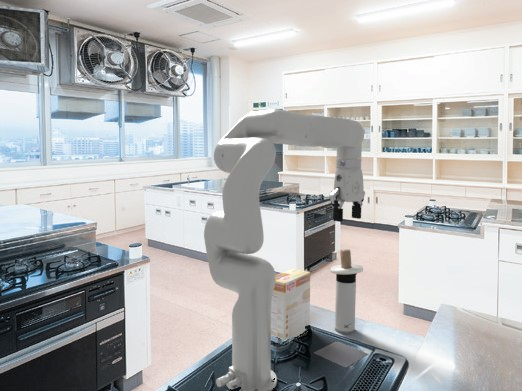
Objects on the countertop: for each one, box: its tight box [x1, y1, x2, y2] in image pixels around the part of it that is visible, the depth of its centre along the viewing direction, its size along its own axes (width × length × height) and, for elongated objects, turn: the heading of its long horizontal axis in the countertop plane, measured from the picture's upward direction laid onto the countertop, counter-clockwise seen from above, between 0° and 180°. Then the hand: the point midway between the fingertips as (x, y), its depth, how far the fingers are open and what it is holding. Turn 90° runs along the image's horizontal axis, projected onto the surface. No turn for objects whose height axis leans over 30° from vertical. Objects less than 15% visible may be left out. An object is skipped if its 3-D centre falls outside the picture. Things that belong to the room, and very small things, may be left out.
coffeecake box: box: [271, 268, 311, 340], centre depth 125 cm, size 15×7×20 cm, turn 142°
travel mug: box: [334, 273, 358, 335], centre depth 128 cm, size 6×7×20 cm
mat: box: [313, 340, 369, 368], centre depth 114 cm, size 11×11×1 cm
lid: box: [330, 249, 364, 275], centre depth 127 cm, size 10×10×6 cm
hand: (347, 219), depth 126 cm, fingers open, 9 cm apart
